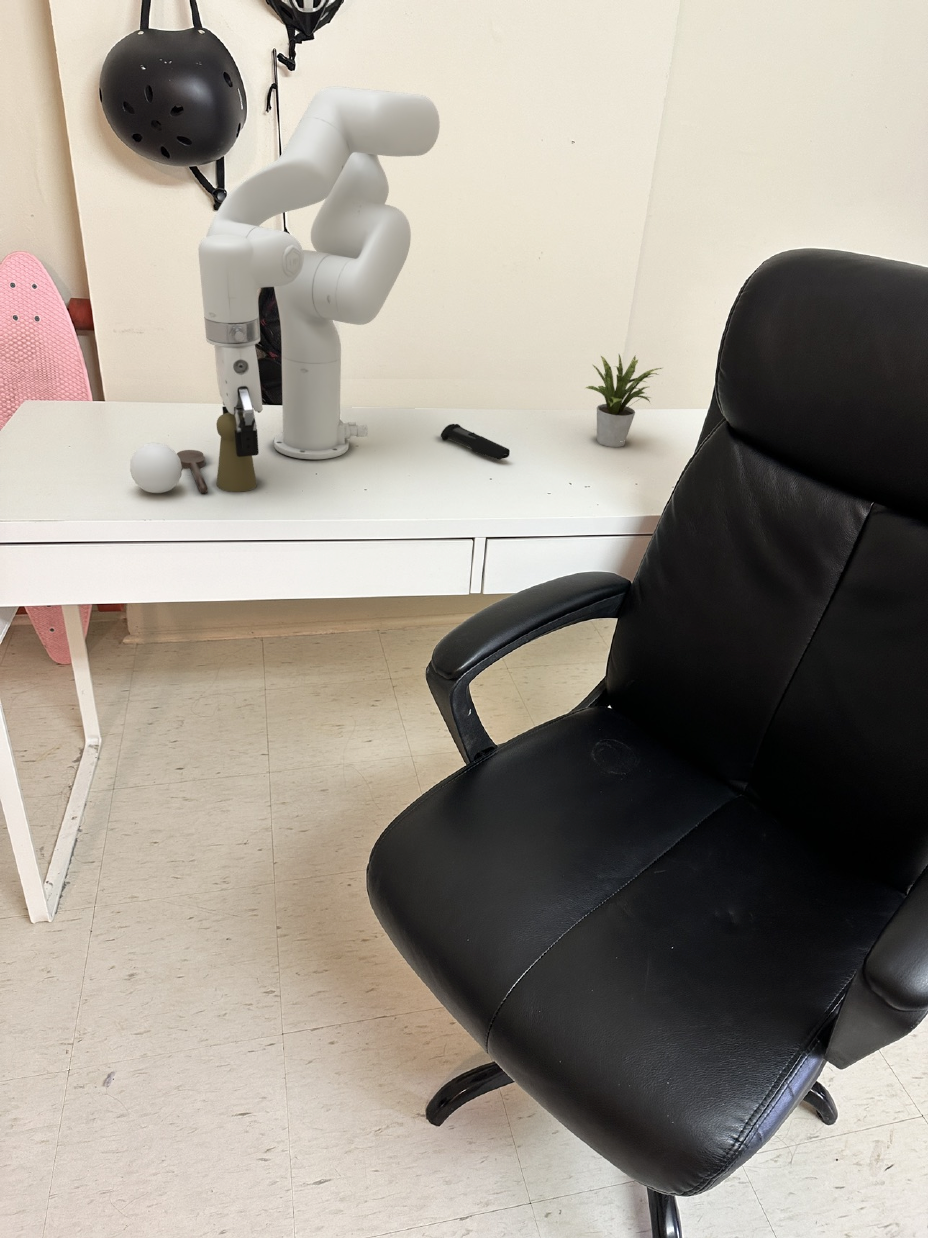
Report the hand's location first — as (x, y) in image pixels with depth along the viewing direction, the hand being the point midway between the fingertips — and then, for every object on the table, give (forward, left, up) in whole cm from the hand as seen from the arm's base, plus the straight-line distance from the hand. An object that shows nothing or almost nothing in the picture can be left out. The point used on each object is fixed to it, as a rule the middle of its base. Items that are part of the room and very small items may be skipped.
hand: (241, 442), depth 143 cm
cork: (+1, +1, -6) cm, 7 cm away
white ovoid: (+13, 0, -6) cm, 14 cm away
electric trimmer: (-42, -7, -6) cm, 43 cm away
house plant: (-69, -5, -6) cm, 70 cm away
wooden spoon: (+6, -4, -6) cm, 10 cm away
